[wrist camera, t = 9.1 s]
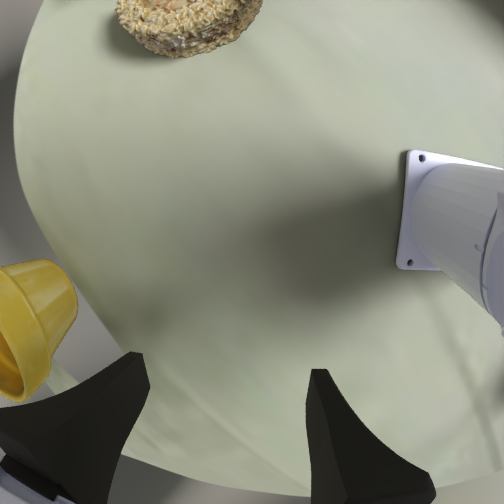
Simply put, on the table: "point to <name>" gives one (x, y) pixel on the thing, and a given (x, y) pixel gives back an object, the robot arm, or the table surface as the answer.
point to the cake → (186, 23)
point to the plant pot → (32, 323)
